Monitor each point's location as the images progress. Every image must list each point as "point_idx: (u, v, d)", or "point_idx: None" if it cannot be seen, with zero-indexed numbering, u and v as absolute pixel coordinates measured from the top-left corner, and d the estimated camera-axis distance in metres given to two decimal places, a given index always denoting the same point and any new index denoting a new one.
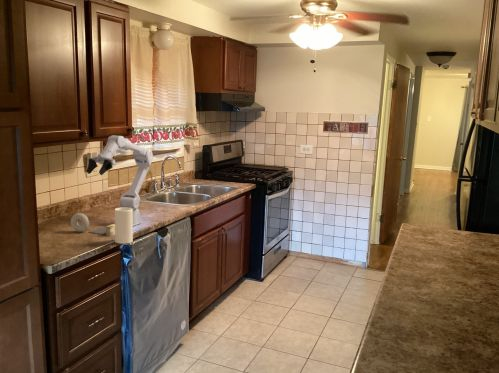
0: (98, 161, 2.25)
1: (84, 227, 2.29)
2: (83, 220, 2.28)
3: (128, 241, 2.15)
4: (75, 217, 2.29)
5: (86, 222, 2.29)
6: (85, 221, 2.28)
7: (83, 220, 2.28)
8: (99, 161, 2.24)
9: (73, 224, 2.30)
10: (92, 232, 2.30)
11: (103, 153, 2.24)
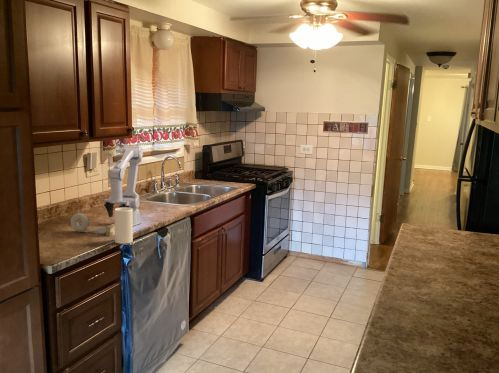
0: (113, 203, 2.31)
1: (84, 227, 2.29)
2: (83, 220, 2.28)
3: (128, 241, 2.15)
4: (75, 217, 2.29)
5: (86, 222, 2.29)
6: (85, 221, 2.28)
7: (83, 220, 2.28)
8: (114, 203, 2.30)
9: (73, 224, 2.30)
10: (92, 232, 2.30)
11: (114, 197, 2.27)
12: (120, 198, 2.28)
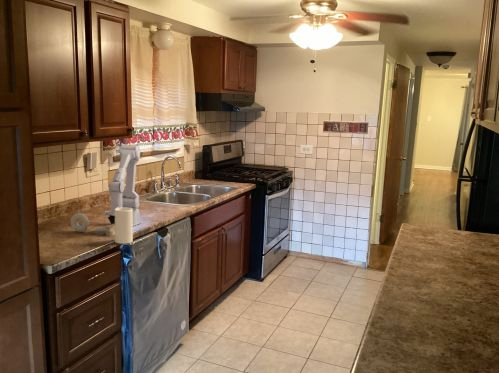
0: (113, 215, 2.32)
1: (84, 227, 2.29)
2: (83, 220, 2.28)
3: (128, 241, 2.15)
4: (75, 217, 2.29)
5: (86, 222, 2.29)
6: (85, 220, 2.28)
7: (83, 220, 2.28)
8: (114, 215, 2.31)
9: (73, 224, 2.30)
10: (92, 232, 2.30)
11: (114, 210, 2.28)
12: None
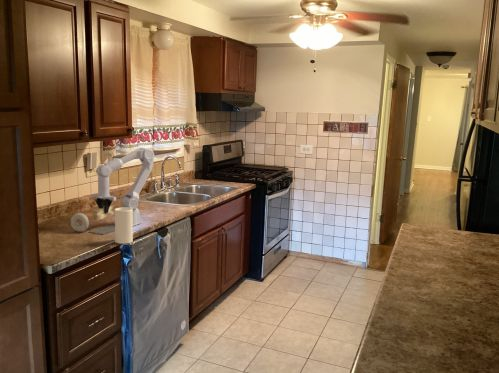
0: (100, 198, 2.39)
1: (84, 227, 2.29)
2: (83, 220, 2.28)
3: (128, 241, 2.15)
4: (75, 217, 2.29)
5: (86, 222, 2.29)
6: (85, 221, 2.28)
7: (83, 220, 2.28)
8: (101, 198, 2.39)
9: (73, 224, 2.30)
10: (92, 232, 2.30)
11: (101, 193, 2.35)
12: (107, 194, 2.37)
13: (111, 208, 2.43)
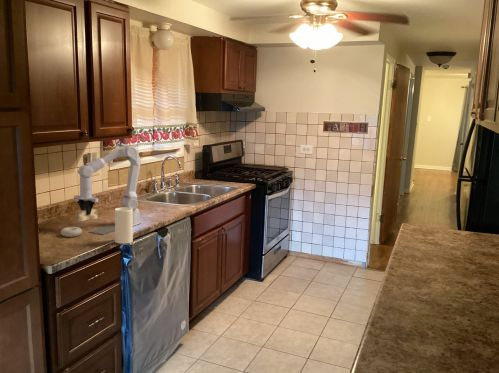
0: (82, 199, 2.34)
1: None
2: (74, 236, 2.23)
3: (128, 241, 2.15)
4: None
5: (78, 234, 2.23)
6: (76, 235, 2.23)
7: None
8: (83, 199, 2.34)
9: None
10: (92, 232, 2.30)
11: (83, 194, 2.30)
12: (89, 195, 2.32)
13: (94, 211, 2.39)
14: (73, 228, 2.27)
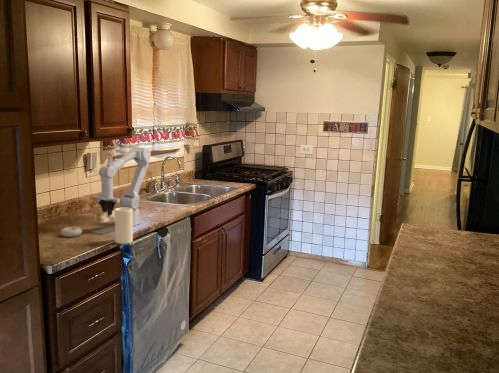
0: (104, 200, 2.35)
1: None
2: (74, 236, 2.23)
3: (128, 241, 2.15)
4: None
5: (78, 234, 2.23)
6: (76, 235, 2.23)
7: None
8: (105, 200, 2.35)
9: None
10: (92, 232, 2.30)
11: (104, 194, 2.32)
12: (111, 195, 2.33)
13: None
14: (73, 228, 2.27)
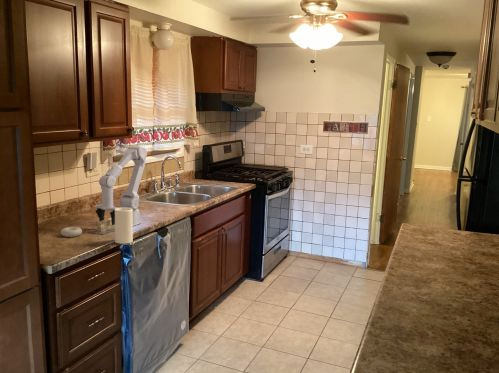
0: (104, 209, 2.36)
1: None
2: (74, 236, 2.23)
3: (128, 241, 2.15)
4: None
5: (78, 234, 2.23)
6: (76, 235, 2.23)
7: None
8: (105, 209, 2.36)
9: None
10: (92, 232, 2.30)
11: (104, 204, 2.32)
12: (111, 204, 2.34)
13: None
14: (73, 228, 2.27)
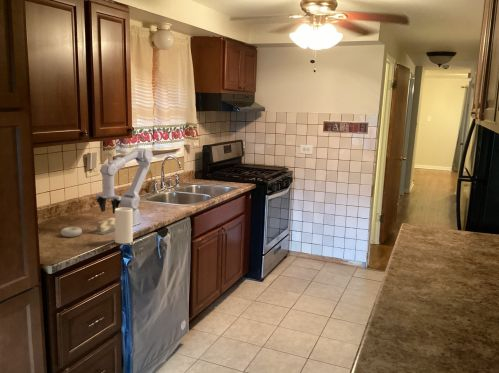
0: (105, 197, 2.36)
1: None
2: (74, 236, 2.23)
3: (128, 241, 2.15)
4: None
5: (78, 234, 2.23)
6: (76, 235, 2.23)
7: None
8: (106, 198, 2.36)
9: None
10: (92, 232, 2.30)
11: (106, 192, 2.32)
12: (112, 193, 2.34)
13: None
14: (73, 228, 2.27)
